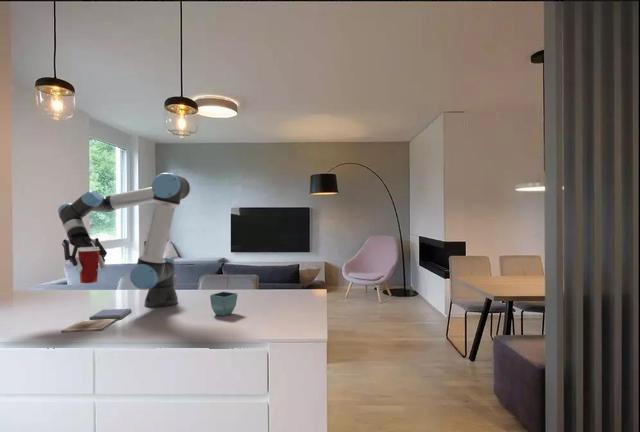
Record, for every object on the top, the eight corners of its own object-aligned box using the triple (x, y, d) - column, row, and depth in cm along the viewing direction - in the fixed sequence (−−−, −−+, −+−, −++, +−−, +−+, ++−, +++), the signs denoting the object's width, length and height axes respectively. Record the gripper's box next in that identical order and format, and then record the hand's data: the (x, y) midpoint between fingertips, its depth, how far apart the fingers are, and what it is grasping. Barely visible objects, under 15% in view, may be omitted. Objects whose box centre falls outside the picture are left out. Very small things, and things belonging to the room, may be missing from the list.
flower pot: (238, 313, 154) (238, 293, 154) (224, 317, 146) (225, 297, 146) (222, 310, 158) (223, 291, 158) (209, 315, 150) (209, 295, 150)
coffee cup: (104, 281, 148) (104, 246, 149) (86, 284, 141) (86, 248, 141) (90, 280, 151) (90, 246, 151) (72, 283, 143) (72, 247, 144)
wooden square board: (117, 319, 142) (117, 318, 142) (102, 330, 129) (102, 329, 129) (80, 321, 140) (80, 320, 140) (61, 332, 126) (61, 330, 126)
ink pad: (131, 311, 155) (131, 308, 155) (120, 319, 143) (120, 315, 143) (102, 312, 153) (102, 309, 153) (89, 320, 141) (89, 316, 141)
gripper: (99, 236, 164) (115, 272, 154) (45, 238, 146) (60, 278, 137) (104, 225, 161) (121, 260, 151) (50, 226, 143) (65, 266, 134)
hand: (92, 269), depth 144 cm, fingers closed on coffee cup, 8 cm apart
